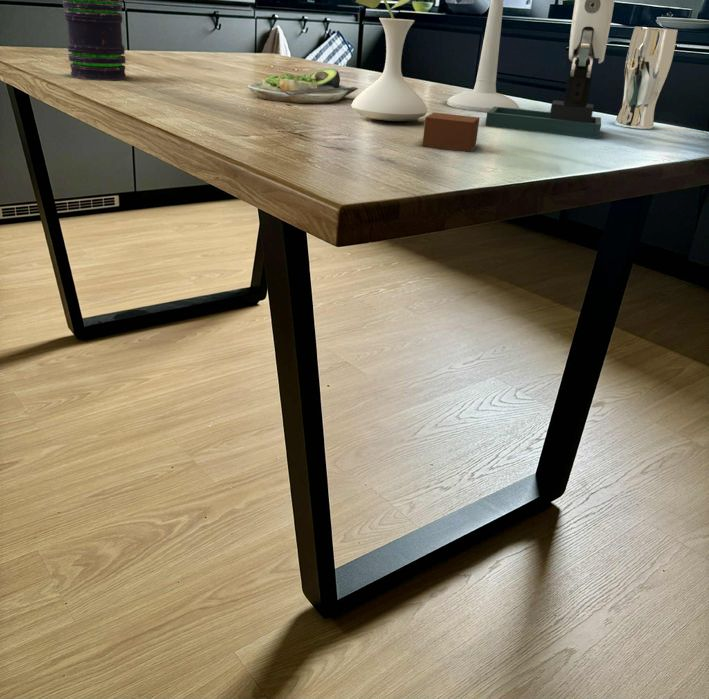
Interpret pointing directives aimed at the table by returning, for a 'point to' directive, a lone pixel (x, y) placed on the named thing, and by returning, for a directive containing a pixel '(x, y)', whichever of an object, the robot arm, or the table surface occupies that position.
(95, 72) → the storage jar
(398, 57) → the flower in vase
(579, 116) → the pad
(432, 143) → the pad
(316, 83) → the salad plate
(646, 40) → the beer glass
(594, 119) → the frame
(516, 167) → the table surface
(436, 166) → the table surface
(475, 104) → the candlestick
